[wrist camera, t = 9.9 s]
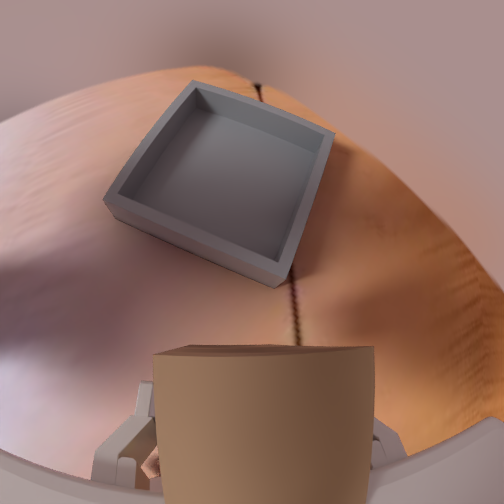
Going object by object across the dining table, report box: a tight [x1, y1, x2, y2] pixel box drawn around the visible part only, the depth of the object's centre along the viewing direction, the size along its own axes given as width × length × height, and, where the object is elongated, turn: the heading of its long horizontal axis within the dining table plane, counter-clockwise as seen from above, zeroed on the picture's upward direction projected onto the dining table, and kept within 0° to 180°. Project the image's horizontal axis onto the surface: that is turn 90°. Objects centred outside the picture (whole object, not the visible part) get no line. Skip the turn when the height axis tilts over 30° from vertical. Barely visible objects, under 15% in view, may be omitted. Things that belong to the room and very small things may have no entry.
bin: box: [103, 80, 336, 289], centre depth 32 cm, size 20×20×5 cm
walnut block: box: [153, 344, 375, 504], centre depth 11 cm, size 5×5×12 cm
